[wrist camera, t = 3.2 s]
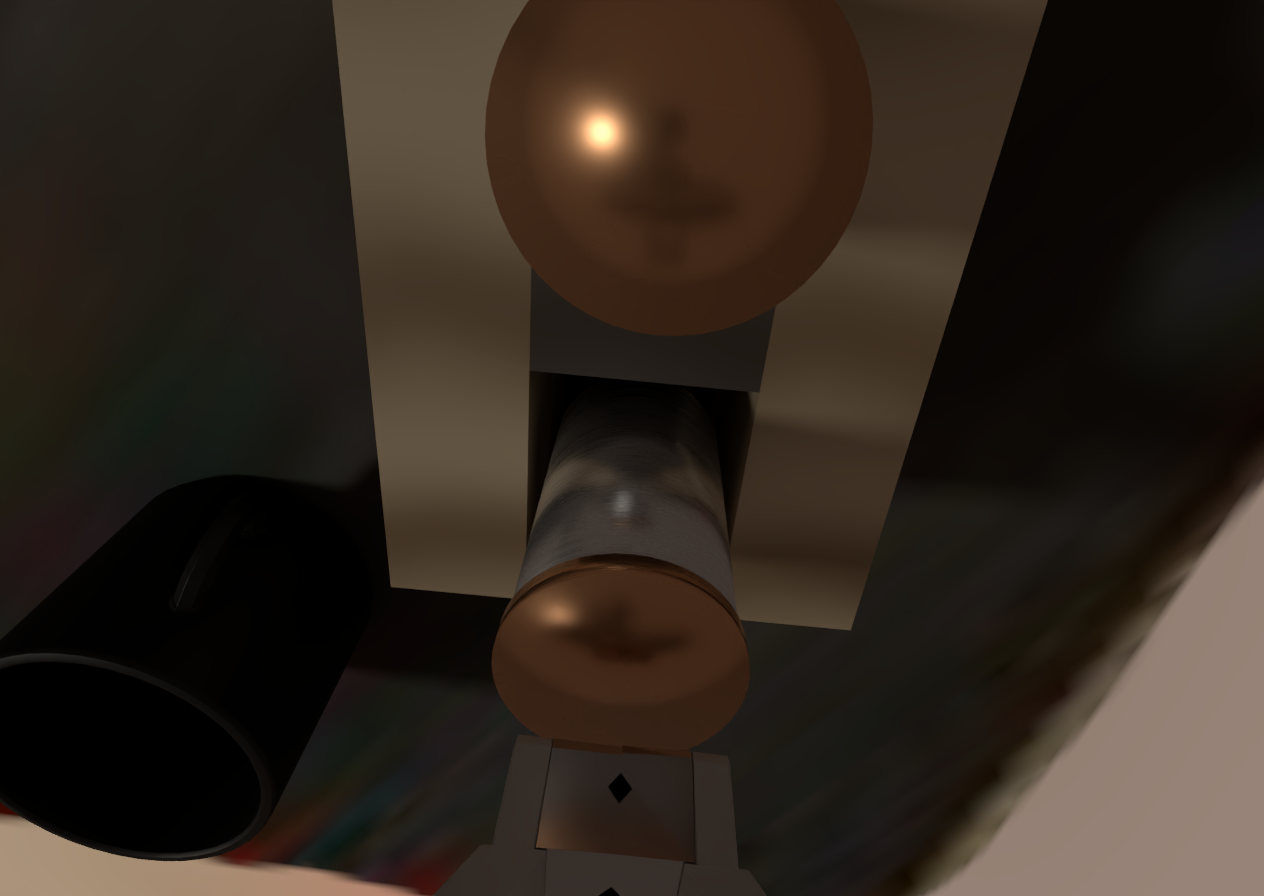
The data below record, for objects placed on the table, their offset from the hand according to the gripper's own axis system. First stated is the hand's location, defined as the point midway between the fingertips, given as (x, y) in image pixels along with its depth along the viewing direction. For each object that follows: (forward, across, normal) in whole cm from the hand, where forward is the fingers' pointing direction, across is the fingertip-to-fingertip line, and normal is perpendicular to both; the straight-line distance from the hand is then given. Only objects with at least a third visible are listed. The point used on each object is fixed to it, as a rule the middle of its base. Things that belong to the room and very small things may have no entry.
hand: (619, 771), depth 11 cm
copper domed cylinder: (+9, 0, -8) cm, 12 cm away
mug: (+16, +14, +10) cm, 23 cm away
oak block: (+16, 0, -4) cm, 16 cm away
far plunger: (+9, 0, 0) cm, 9 cm away
